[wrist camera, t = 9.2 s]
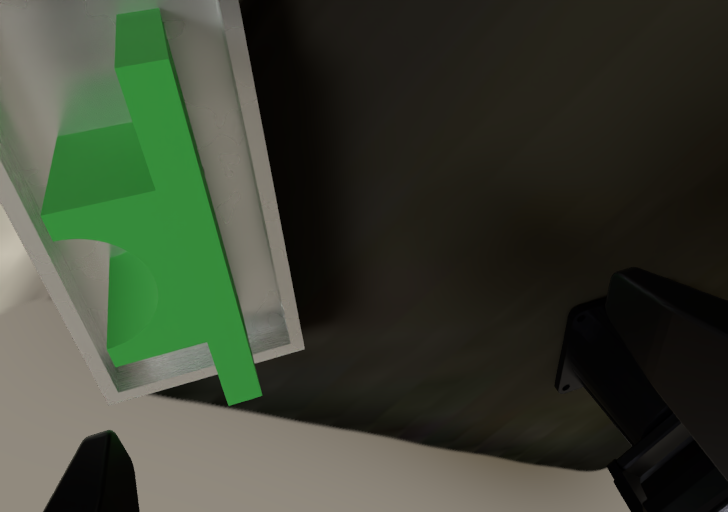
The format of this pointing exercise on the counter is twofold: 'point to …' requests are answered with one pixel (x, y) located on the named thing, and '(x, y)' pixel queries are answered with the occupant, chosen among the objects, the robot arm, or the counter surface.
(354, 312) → the counter surface
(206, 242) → the pipe clamp
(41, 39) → the grey rectangular tray
